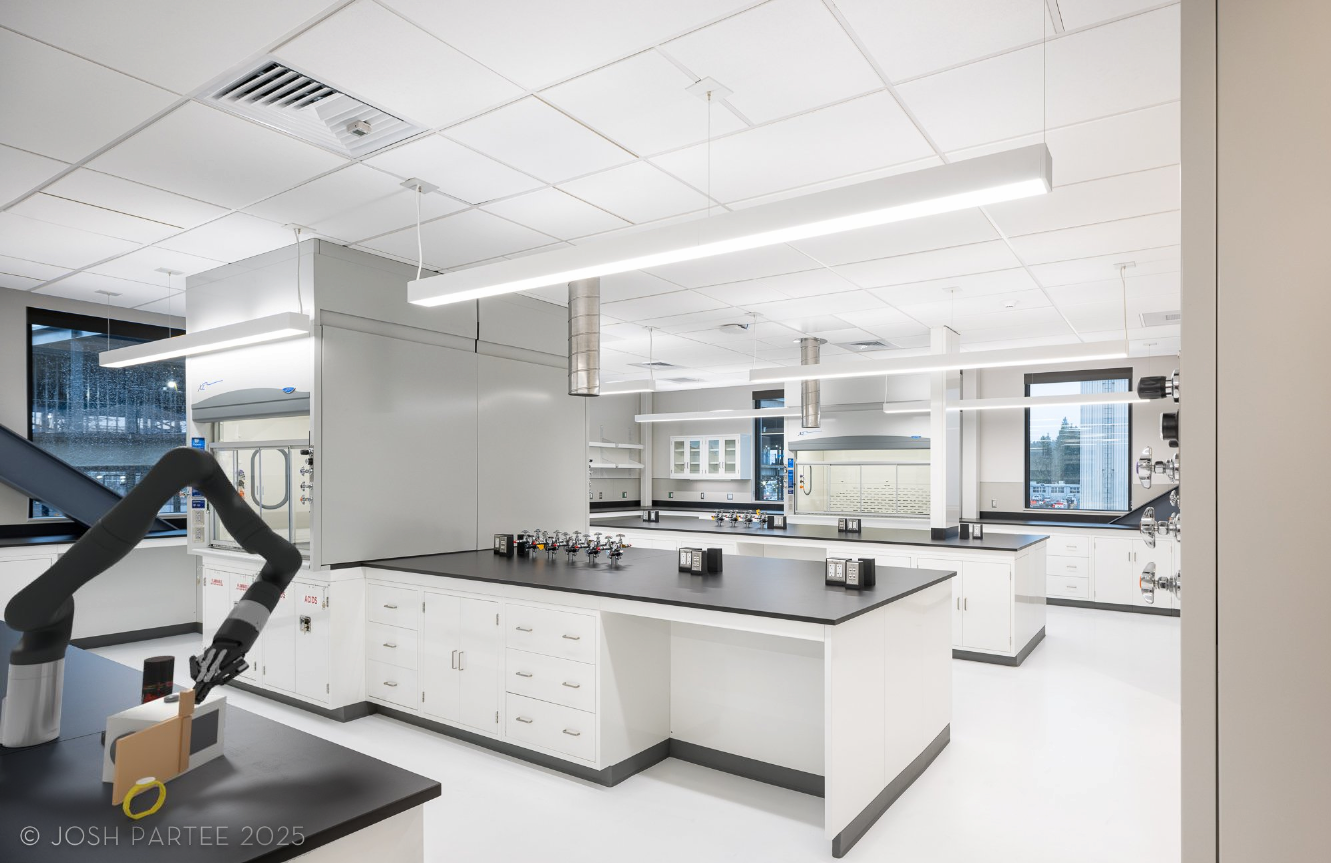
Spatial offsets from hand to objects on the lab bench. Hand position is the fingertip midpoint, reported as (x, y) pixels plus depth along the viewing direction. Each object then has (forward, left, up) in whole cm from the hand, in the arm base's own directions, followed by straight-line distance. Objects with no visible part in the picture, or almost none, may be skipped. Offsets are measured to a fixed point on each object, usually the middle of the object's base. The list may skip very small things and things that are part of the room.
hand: (193, 702), depth 138 cm
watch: (+6, -16, -14) cm, 22 cm away
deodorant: (-30, +23, -14) cm, 41 cm away
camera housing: (-7, +2, -14) cm, 16 cm away
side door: (0, -8, -13) cm, 15 cm away
